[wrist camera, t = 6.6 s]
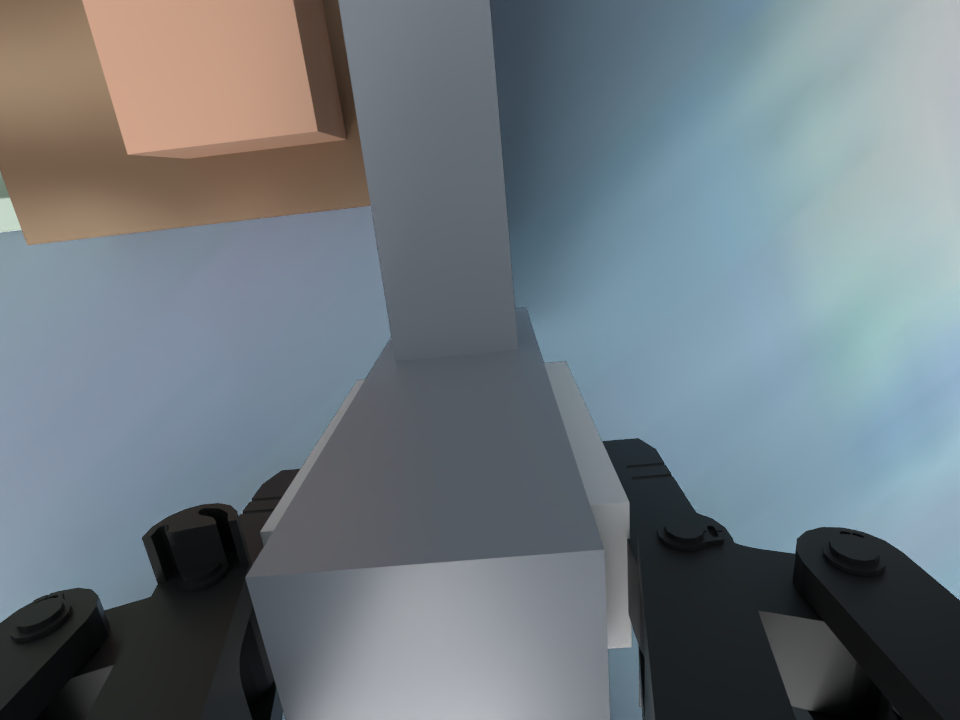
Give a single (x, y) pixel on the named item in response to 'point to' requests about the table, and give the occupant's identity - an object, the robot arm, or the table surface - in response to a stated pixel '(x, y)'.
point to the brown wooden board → (135, 178)
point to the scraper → (438, 435)
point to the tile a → (217, 74)
